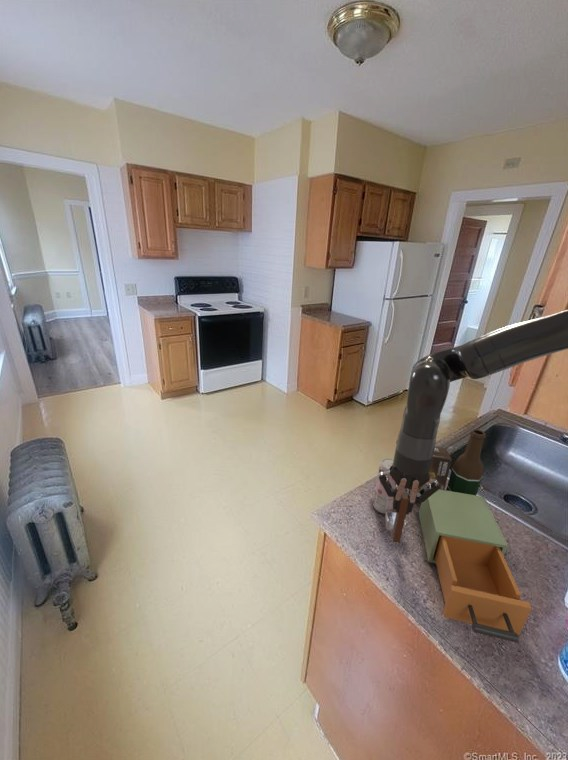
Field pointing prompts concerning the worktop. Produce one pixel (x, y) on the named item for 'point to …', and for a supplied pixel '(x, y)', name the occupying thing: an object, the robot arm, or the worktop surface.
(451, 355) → the robot arm
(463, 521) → the cabinet
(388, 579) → the worktop surface
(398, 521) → the scoop
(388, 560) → the worktop surface
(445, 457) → the coffee box
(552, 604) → the worktop surface
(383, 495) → the beverage can
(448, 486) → the beer bottle
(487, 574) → the drawer
